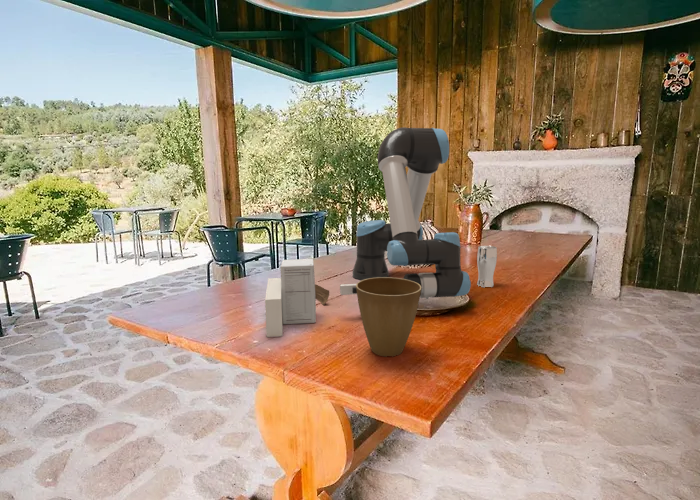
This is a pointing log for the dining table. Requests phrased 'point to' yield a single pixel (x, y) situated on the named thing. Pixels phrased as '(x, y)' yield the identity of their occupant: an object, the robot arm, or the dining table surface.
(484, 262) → the beer glass
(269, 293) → the white rectangular block
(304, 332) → the dining table surface
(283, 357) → the dining table surface
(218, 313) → the dining table surface
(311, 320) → the supplement box
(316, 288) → the brown bark piece
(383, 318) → the plant pot
